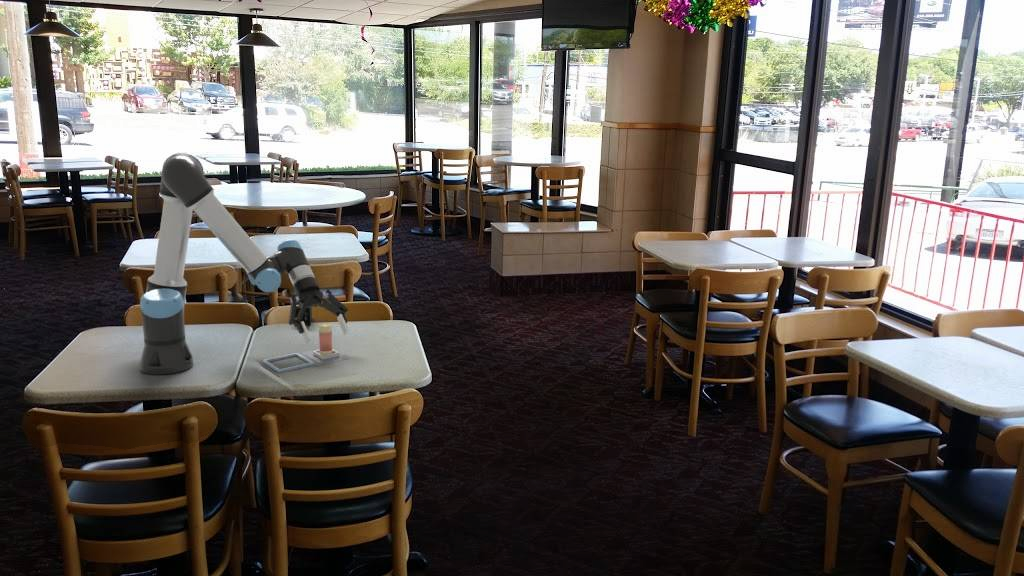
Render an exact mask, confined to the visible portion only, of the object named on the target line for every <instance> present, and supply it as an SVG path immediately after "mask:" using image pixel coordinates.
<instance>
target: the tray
mask: <svg viewBox="0 0 1024 576" xmlns="http://www.w3.org/2000/svg"><path fill="white" fill-rule="evenodd" d="M293 357H297V358H298V359H300V360H302V361H304V362H306V363H303V364H299V365H294V366H289V367H288V366H287V367H284V368H278V367H277V366H275V365H274V364H272V363H270V362H274V361H279V360H284V359H288V358H293ZM261 363H262V364H264V365H266V366H267V367H269V368H270V369H271V370H270V369H269V368H267V367H266V366H264V365H262V367H263V369H265V370H267V371H268V372H269V373H271V374H273V375H274V376H275V377H278V378H280V376H279V375H278V374H280V373H284V372H285V373H286V372H290V371H294V370H297V369H302V368H307V367H312V366H315V362H314V361H312V359H311V360H310V359H309V358H307V357H305V356H304V355H302V354H300V353H299V352H294V353H290V354H289V353H288V354H285V355H279V356H274V357H271V358H265V359H262V360H261ZM272 370H274V371H275V372H277V373H278V374H276V373H275V372H273V371H272Z"/></svg>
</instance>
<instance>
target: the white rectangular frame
mask: <svg viewBox="0 0 1024 576" xmlns="http://www.w3.org/2000/svg"><path fill="white" fill-rule="evenodd" d="M319 349H320V348H317V349H313V350H308V351H304V352H301V353H302V354H304V355H305V356H306V357H308V358H310V359H311V360H314V361H316V362H318V364H320V365H327V364H331V363H336V362H340V361H344V360H345V361H346V360H349V359H351V357H350V356H348V355H345V353H342V352H340V351H338V350H337V349H335V348H333V347H332V349H333V353H332V354H327V355H321V354H319Z"/></svg>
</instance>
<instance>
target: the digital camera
mask: <svg viewBox="0 0 1024 576" xmlns="http://www.w3.org/2000/svg"><path fill="white" fill-rule="evenodd" d="M298 302H299V301H298ZM302 305H303V304H302V303H301V302H299V303H298V305H296V313H295V319H297V317H298V315H299V312H300V310H301V308H302ZM312 320H313V307H312V308H309V307H306V310H305V312H304V314H303V317H302V319H301V321H300V322H302V321H304V323H305V325H307V326H306V327H310V326H312V325H311V324H312Z"/></svg>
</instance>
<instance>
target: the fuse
mask: <svg viewBox="0 0 1024 576" xmlns="http://www.w3.org/2000/svg"><path fill="white" fill-rule="evenodd" d="M318 340H319V342H318V345H319V348H318V349H319V354H321V355H327V354H332V353H333V349H334V348H333V325H332V324H331V323H320V324H318ZM332 348H333V349H332Z"/></svg>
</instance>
